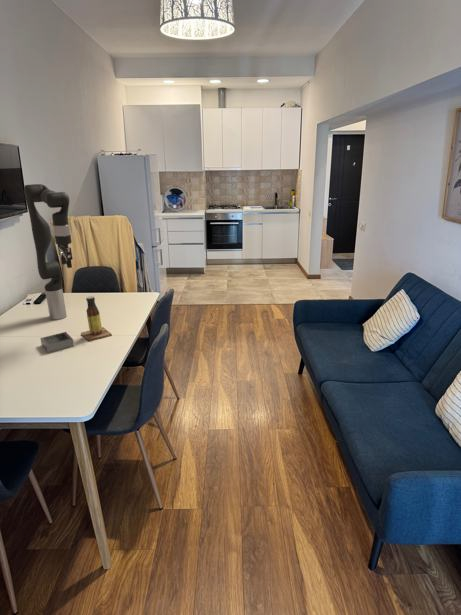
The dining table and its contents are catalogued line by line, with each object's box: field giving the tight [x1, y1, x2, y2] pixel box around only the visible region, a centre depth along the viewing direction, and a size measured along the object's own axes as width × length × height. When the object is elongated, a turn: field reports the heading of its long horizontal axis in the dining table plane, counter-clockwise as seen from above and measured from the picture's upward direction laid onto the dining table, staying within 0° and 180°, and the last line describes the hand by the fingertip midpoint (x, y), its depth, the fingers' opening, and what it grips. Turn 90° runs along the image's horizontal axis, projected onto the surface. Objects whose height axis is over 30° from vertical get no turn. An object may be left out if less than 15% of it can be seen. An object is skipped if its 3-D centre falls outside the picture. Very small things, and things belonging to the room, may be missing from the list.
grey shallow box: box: [40, 331, 75, 354], centre depth 204 cm, size 11×12×4 cm
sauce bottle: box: [85, 295, 103, 335], centre depth 213 cm, size 7×6×20 cm
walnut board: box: [80, 326, 113, 342], centre depth 217 cm, size 12×12×1 cm
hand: (66, 265), depth 209 cm, fingers open, 8 cm apart
